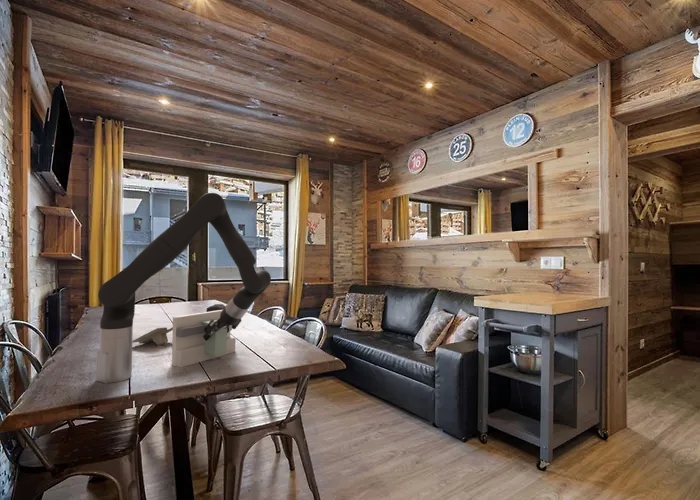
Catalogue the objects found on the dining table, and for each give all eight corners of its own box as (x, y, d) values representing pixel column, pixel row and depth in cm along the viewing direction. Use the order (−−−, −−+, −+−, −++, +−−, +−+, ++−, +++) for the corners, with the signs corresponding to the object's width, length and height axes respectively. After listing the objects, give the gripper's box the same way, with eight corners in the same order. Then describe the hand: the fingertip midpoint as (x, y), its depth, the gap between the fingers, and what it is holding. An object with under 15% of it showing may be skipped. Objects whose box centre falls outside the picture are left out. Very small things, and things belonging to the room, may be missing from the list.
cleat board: (181, 367, 134) (182, 318, 135) (171, 365, 137) (172, 317, 137) (235, 351, 157) (236, 309, 157) (226, 350, 160) (227, 308, 160)
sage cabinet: (214, 355, 140) (216, 324, 140) (199, 351, 145) (201, 321, 145) (226, 352, 145) (227, 322, 145) (211, 348, 150) (212, 319, 150)
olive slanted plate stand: (136, 359, 158) (162, 336, 158) (126, 342, 160) (152, 321, 160) (161, 355, 174) (185, 335, 174) (153, 340, 176) (176, 320, 176)
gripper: (244, 301, 147) (223, 326, 152) (215, 304, 134) (194, 332, 140) (253, 315, 144) (232, 340, 150) (224, 320, 132) (203, 348, 137)
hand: (214, 336), depth 145 cm, fingers open, 8 cm apart
